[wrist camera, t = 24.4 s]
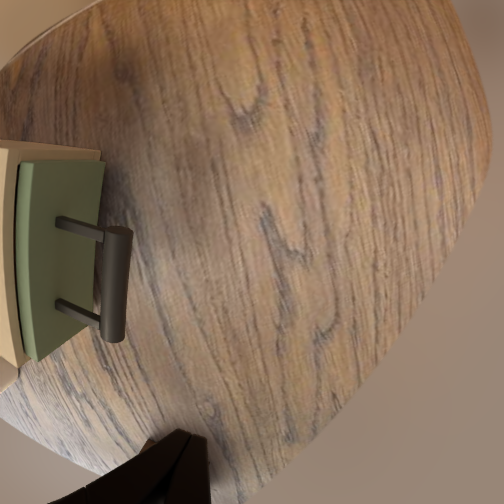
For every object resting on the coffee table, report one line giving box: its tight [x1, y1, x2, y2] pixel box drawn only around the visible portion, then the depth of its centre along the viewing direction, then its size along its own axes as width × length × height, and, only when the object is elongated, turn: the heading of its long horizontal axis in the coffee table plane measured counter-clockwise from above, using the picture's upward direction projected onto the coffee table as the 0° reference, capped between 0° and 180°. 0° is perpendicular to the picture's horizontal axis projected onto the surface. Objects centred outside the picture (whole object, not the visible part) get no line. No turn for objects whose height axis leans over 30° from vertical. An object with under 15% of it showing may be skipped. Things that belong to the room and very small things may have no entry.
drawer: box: [14, 160, 133, 362], centre depth 17 cm, size 23×11×6 cm, turn 77°
